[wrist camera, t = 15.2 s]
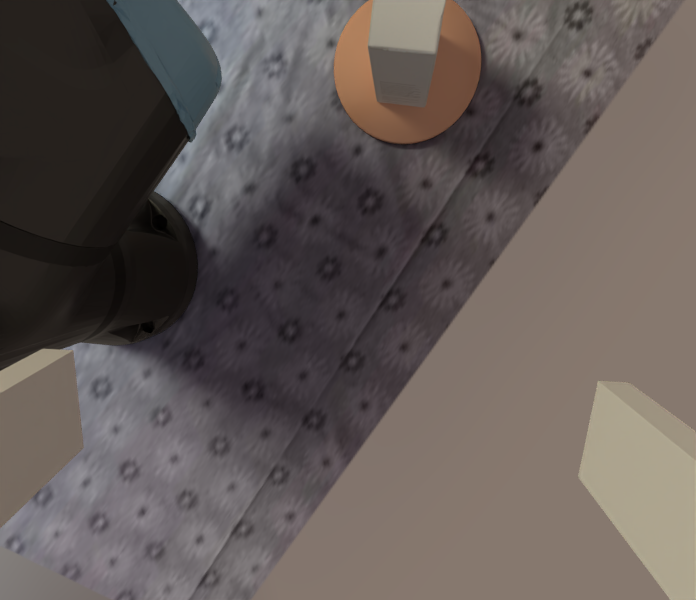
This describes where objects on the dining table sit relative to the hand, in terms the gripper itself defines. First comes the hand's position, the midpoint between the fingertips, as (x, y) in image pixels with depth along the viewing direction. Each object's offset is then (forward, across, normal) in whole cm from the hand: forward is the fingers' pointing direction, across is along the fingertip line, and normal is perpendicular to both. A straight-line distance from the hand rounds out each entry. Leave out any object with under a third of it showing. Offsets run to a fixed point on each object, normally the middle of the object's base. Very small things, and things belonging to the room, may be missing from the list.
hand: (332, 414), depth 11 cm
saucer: (+31, +4, +15) cm, 35 cm away
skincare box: (+30, +4, +15) cm, 34 cm away
